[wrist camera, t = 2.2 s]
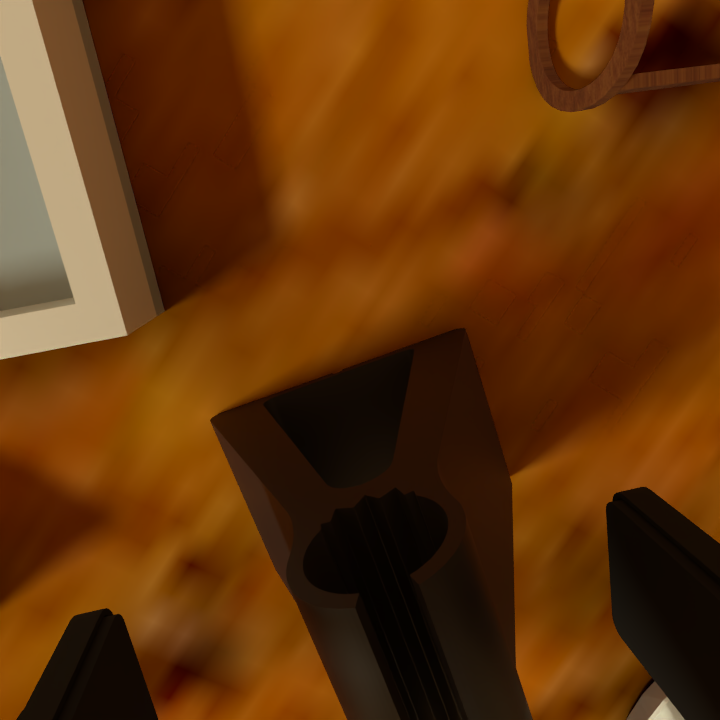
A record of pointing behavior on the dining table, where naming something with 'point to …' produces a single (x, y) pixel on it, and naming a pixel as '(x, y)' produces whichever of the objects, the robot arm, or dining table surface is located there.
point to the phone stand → (391, 530)
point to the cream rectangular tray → (64, 191)
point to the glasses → (618, 69)
